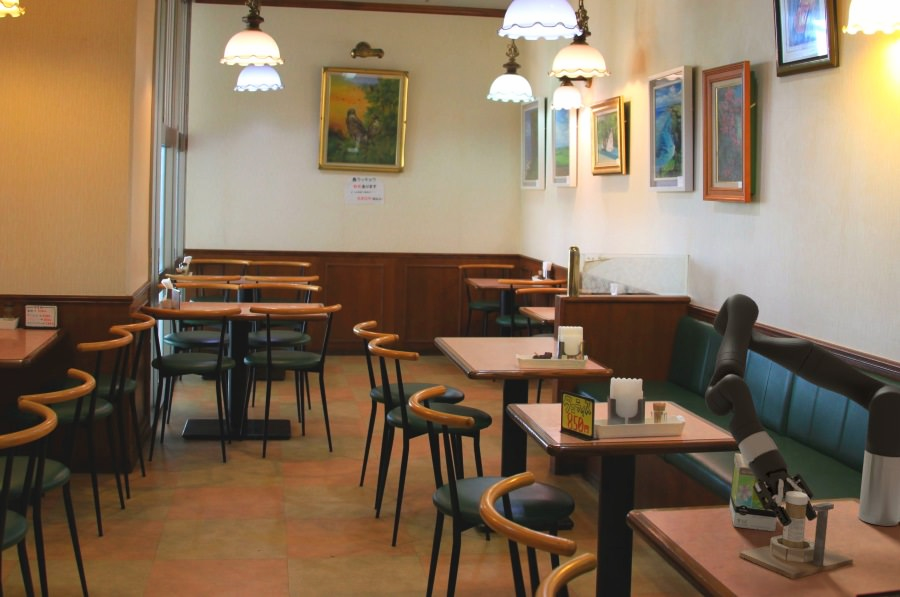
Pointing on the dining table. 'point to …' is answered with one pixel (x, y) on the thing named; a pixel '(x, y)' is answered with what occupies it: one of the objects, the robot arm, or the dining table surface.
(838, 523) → the dining table surface
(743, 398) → the robot arm
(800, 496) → the sprinkles bottle
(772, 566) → the socket base
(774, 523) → the tea box
